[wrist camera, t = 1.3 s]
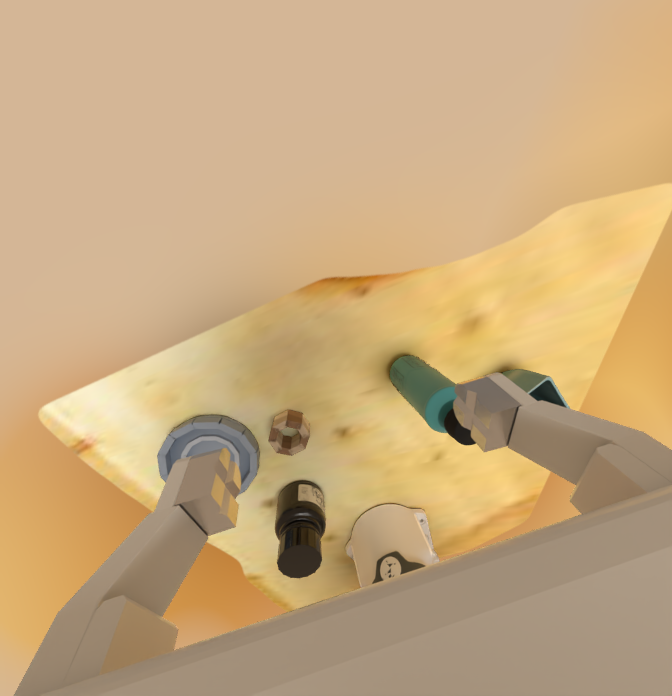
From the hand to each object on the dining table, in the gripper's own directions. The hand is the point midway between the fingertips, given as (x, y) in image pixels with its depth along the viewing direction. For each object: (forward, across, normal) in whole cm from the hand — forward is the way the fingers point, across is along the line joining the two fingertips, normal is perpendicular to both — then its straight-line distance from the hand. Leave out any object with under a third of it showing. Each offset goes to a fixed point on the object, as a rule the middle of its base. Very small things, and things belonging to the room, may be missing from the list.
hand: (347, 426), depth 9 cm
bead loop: (+28, -8, -28) cm, 41 cm away
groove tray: (+28, -23, -30) cm, 47 cm away
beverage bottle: (+29, +14, -22) cm, 39 cm away
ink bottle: (+24, -10, -43) cm, 51 cm away
